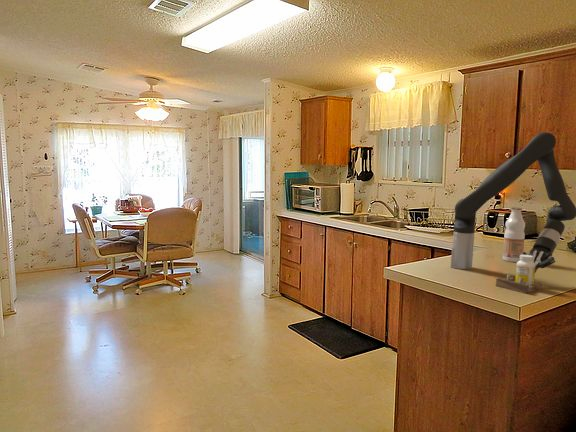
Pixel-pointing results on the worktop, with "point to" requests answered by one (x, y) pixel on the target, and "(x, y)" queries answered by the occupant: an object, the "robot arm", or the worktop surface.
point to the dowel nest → (517, 285)
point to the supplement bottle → (525, 270)
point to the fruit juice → (514, 236)
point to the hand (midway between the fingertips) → (529, 273)
